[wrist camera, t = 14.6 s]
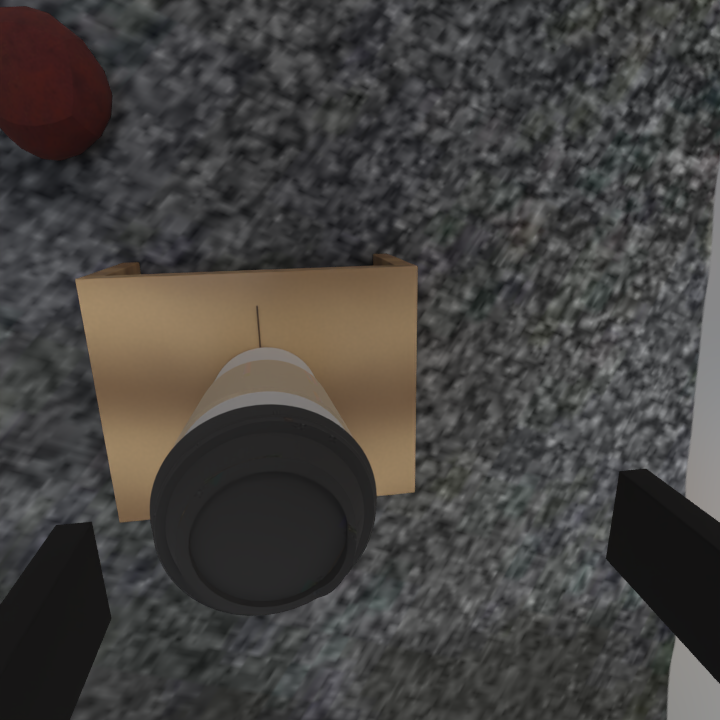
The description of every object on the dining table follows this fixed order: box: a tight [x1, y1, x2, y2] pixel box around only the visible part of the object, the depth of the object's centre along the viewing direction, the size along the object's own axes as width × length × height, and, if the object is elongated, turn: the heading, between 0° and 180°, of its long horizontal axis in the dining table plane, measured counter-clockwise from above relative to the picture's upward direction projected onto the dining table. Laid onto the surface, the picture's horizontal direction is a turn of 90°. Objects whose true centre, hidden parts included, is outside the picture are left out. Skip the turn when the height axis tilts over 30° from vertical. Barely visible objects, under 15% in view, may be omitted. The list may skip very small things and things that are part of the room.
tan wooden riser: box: [76, 254, 418, 522], centre depth 37 cm, size 16×20×9 cm
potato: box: [0, 6, 112, 161], centre depth 31 cm, size 7×8×6 cm
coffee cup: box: [150, 347, 377, 616], centre depth 25 cm, size 9×9×15 cm
